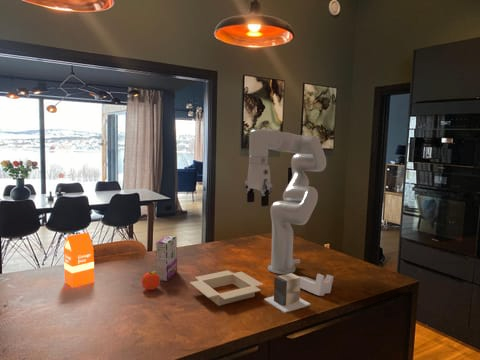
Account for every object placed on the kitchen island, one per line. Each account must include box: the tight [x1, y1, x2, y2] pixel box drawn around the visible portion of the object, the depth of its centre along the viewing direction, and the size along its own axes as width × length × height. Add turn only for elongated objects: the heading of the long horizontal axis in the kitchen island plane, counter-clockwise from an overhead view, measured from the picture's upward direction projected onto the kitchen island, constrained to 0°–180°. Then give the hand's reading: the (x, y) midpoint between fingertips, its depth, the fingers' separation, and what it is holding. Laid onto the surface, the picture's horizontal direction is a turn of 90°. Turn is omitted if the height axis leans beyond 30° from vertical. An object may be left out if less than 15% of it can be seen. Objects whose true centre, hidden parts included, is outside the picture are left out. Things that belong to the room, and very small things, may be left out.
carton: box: [189, 270, 264, 306], centre depth 143 cm, size 24×24×4 cm
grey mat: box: [263, 295, 311, 314], centre depth 136 cm, size 12×12×1 cm
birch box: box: [273, 273, 301, 306], centre depth 135 cm, size 8×5×9 cm, turn 123°
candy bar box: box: [155, 235, 178, 282], centre depth 158 cm, size 11×5×16 cm, turn 168°
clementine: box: [141, 270, 161, 291], centre depth 145 cm, size 8×7×7 cm
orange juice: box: [63, 232, 95, 289], centre depth 150 cm, size 8×9×20 cm
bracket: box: [298, 273, 334, 297], centre depth 148 cm, size 13×7×8 cm, turn 39°
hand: (257, 203), depth 149 cm, fingers open, 9 cm apart
